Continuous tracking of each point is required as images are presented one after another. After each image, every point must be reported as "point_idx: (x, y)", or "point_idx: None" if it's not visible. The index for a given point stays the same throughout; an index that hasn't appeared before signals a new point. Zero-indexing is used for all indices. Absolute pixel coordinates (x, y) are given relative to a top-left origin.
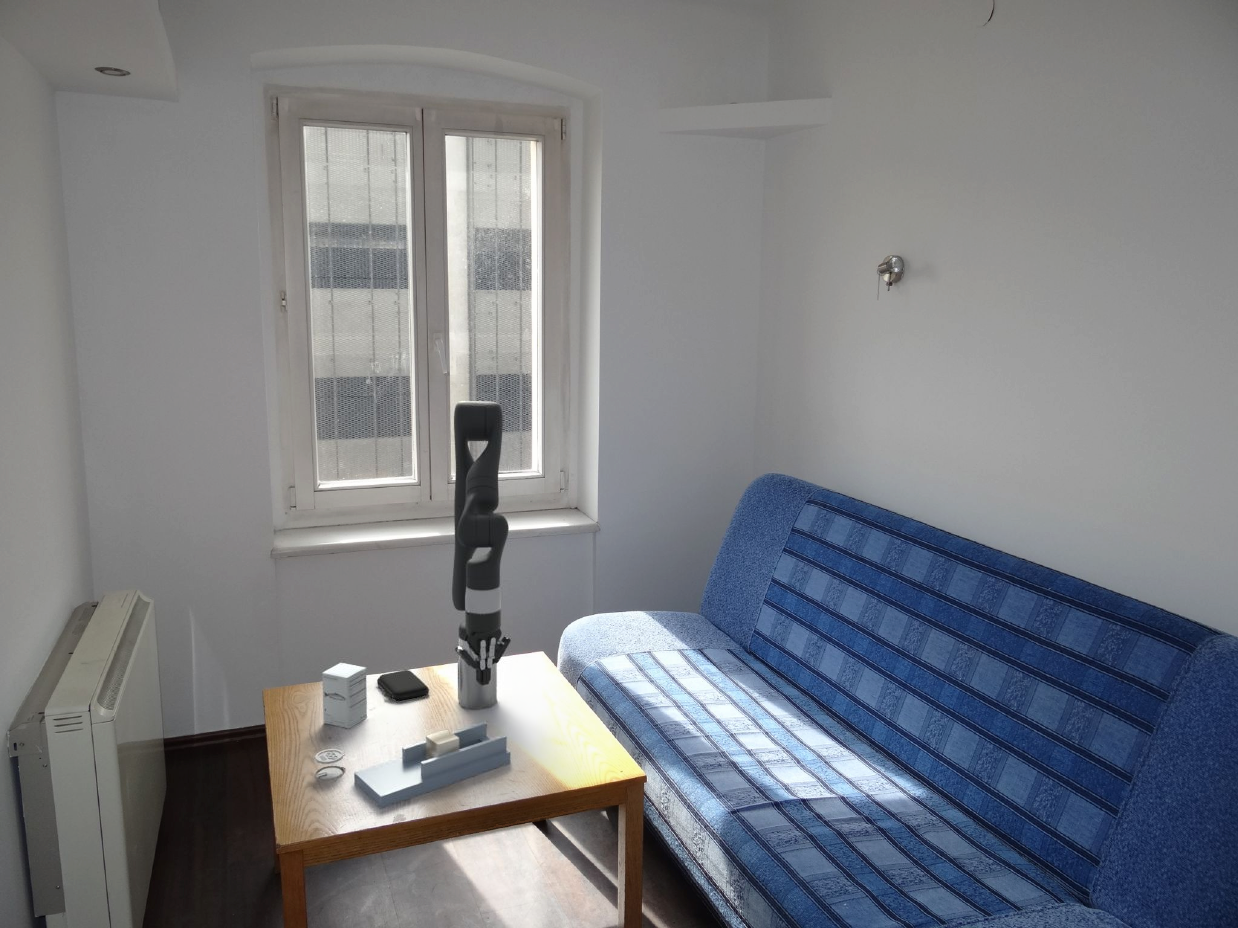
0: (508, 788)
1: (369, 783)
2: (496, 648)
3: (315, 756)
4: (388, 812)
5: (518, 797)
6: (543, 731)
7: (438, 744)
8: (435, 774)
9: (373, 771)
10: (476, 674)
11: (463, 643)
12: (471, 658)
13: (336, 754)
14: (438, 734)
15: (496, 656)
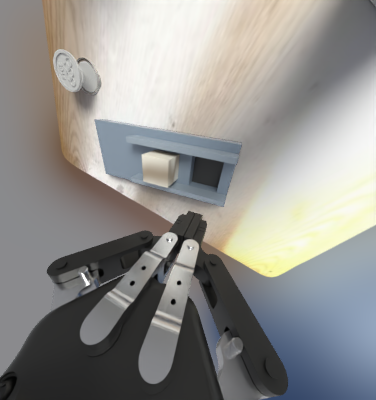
0: None
1: (102, 149)
2: (218, 308)
3: (53, 61)
4: (116, 178)
5: None
6: (320, 182)
7: (144, 181)
8: None
9: (109, 132)
10: (173, 225)
11: (54, 303)
12: (118, 272)
13: (74, 73)
14: (154, 163)
15: (203, 292)
